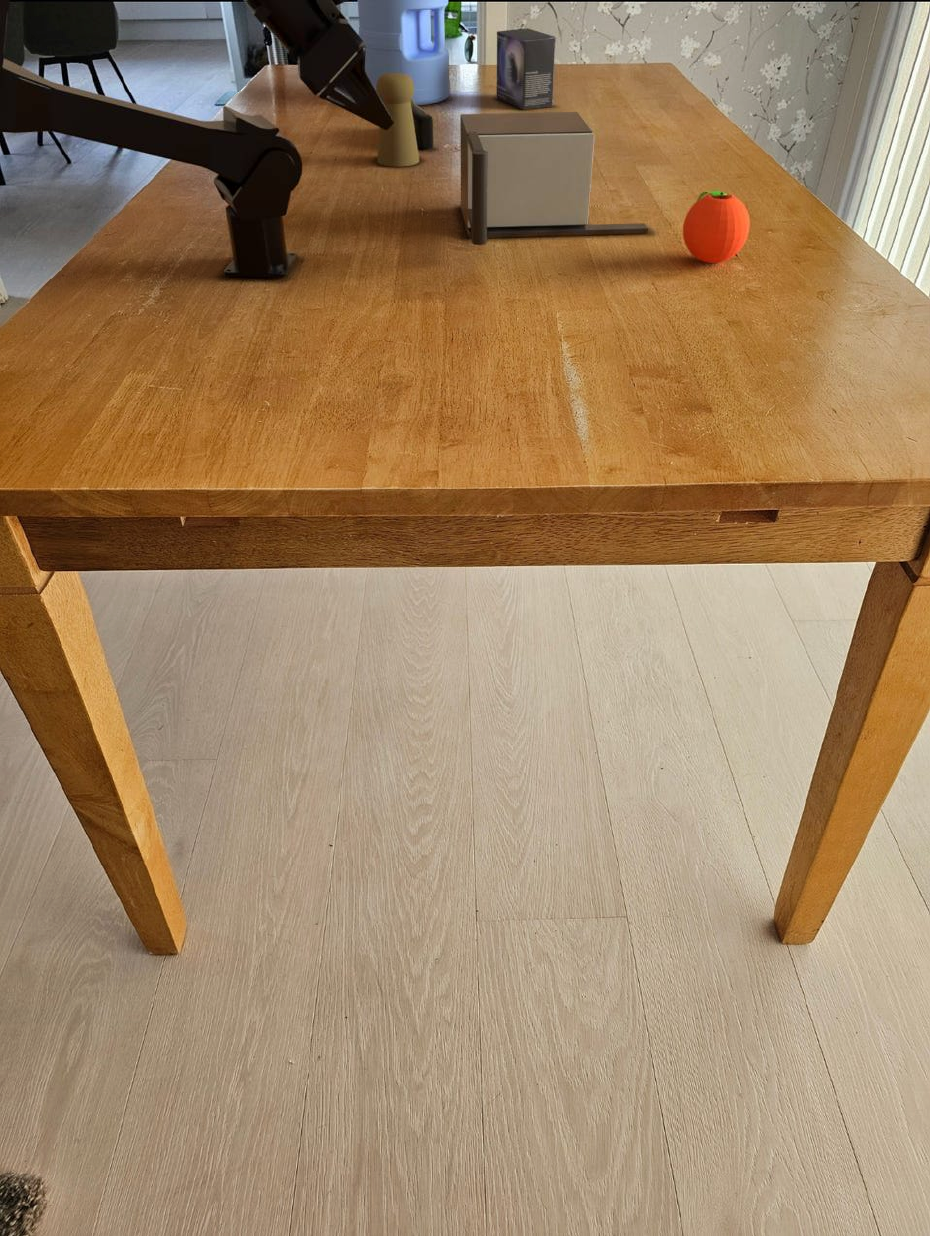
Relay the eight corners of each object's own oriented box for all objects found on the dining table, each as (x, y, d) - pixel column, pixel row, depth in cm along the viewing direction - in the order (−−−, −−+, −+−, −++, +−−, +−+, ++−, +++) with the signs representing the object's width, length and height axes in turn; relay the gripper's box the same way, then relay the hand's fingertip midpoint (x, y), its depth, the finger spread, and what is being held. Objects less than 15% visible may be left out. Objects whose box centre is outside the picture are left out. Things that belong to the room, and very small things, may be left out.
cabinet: (468, 238, 108) (468, 139, 102) (460, 207, 118) (460, 114, 111) (647, 233, 110) (659, 134, 103) (625, 203, 119) (635, 110, 112)
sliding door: (472, 256, 101) (472, 154, 95) (464, 226, 109) (464, 130, 103) (603, 252, 102) (612, 151, 96) (586, 223, 110) (594, 127, 103)
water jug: (349, 104, 164) (334, -97, 146) (381, 87, 176) (371, -101, 158) (434, 109, 161) (429, -96, 143) (461, 91, 172) (460, -100, 155)
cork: (369, 163, 134) (363, 75, 127) (391, 153, 138) (387, 68, 131) (405, 168, 132) (402, 79, 125) (427, 158, 136) (424, 72, 129)
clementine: (661, 252, 105) (670, 184, 100) (715, 244, 107) (726, 177, 102) (700, 275, 99) (711, 204, 94) (756, 267, 101) (769, 197, 96)
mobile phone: (436, 114, 137) (403, 91, 147) (416, 115, 136) (385, 93, 147) (436, 151, 140) (404, 126, 151) (417, 152, 139) (386, 128, 150)
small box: (493, 98, 168) (494, 30, 161) (525, 95, 170) (528, 27, 163) (520, 110, 160) (523, 38, 154) (554, 106, 163) (557, 36, 156)
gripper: (336, -94, 76) (461, 69, 85) (320, -99, 90) (428, 41, 99) (243, 15, 79) (373, 161, 88) (242, -6, 94) (353, 121, 102)
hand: (384, 117), depth 94 cm, fingers open, 9 cm apart
